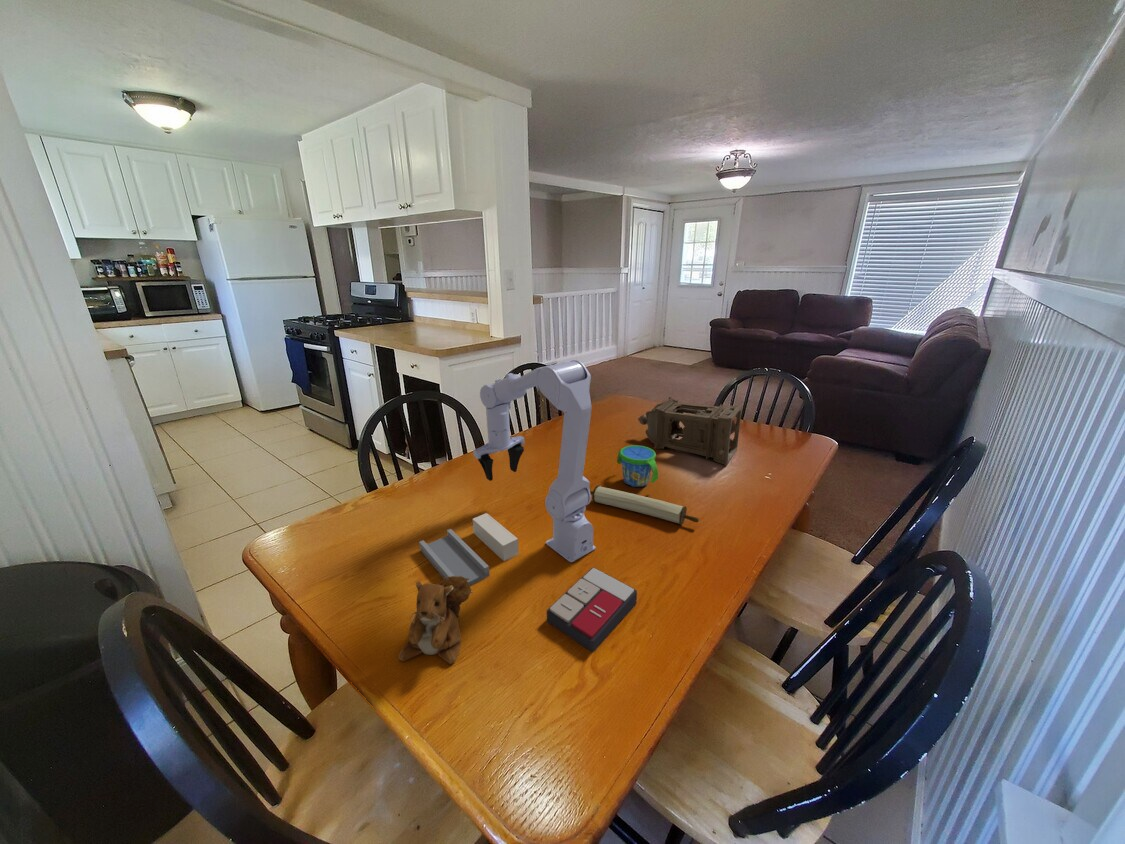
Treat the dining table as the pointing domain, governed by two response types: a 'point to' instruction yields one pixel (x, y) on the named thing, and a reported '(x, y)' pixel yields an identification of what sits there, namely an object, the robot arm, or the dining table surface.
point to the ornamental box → (694, 428)
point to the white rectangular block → (495, 536)
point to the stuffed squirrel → (437, 619)
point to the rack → (455, 558)
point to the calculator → (592, 608)
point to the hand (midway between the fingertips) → (501, 474)
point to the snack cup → (637, 465)
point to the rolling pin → (641, 504)
